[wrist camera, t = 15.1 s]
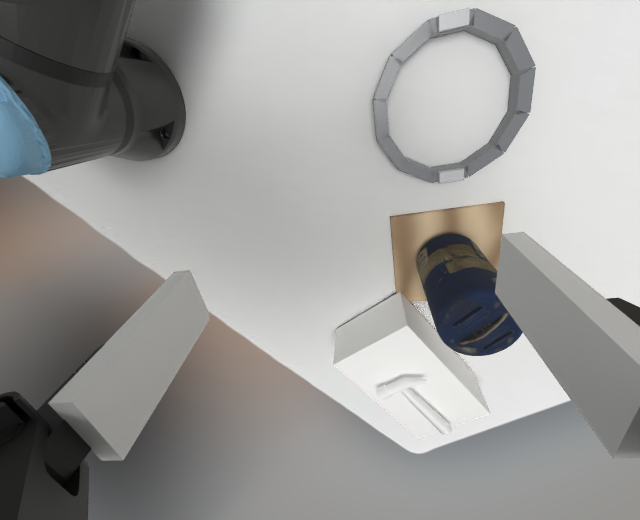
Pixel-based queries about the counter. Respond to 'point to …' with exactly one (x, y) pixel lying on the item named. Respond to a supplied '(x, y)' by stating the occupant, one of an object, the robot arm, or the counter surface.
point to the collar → (519, 92)
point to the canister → (464, 296)
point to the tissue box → (408, 369)
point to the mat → (424, 226)
